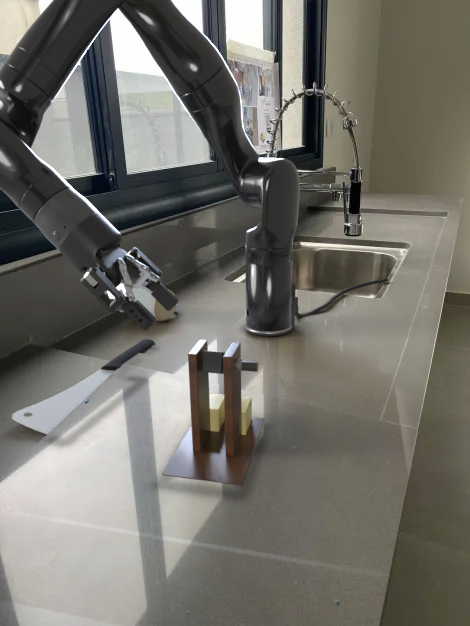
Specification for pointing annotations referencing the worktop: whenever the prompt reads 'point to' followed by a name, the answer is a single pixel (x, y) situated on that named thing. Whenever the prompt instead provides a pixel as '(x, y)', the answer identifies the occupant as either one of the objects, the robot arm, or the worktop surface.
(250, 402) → the butter
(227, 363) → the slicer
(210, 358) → the lever
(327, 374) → the worktop surface
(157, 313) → the ceramic mug
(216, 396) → the butter
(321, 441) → the worktop surface
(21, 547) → the worktop surface
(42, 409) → the kitchen cleaver
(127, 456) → the worktop surface
